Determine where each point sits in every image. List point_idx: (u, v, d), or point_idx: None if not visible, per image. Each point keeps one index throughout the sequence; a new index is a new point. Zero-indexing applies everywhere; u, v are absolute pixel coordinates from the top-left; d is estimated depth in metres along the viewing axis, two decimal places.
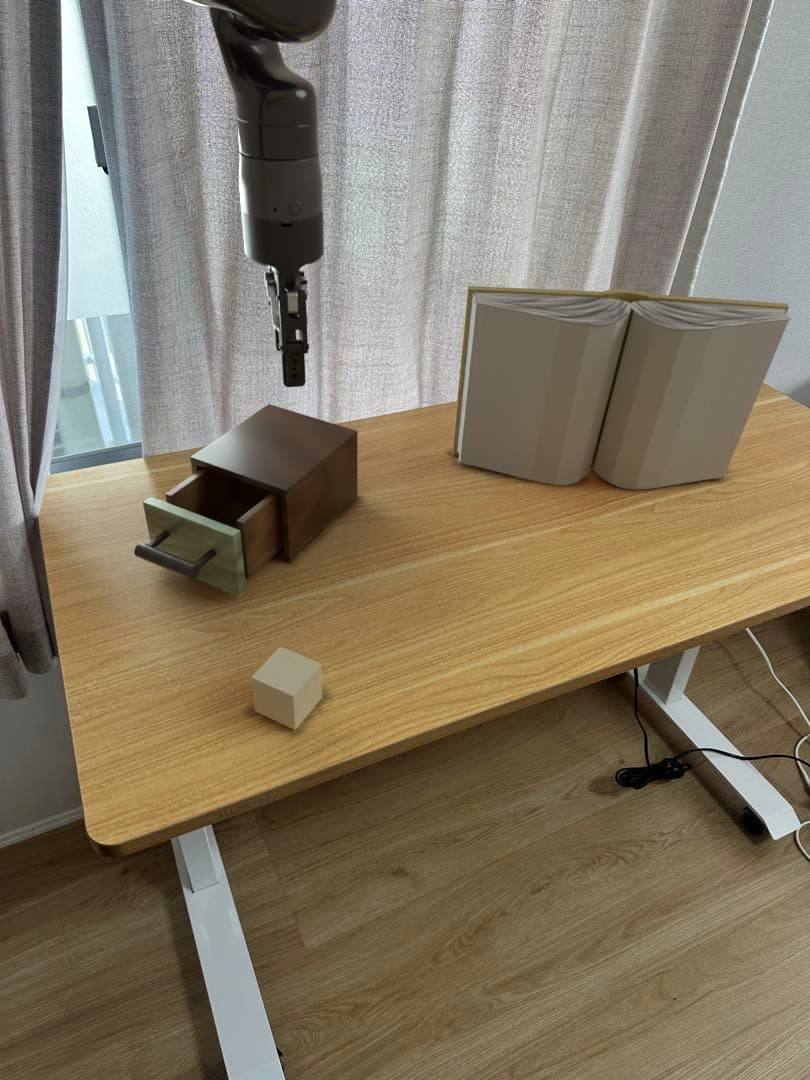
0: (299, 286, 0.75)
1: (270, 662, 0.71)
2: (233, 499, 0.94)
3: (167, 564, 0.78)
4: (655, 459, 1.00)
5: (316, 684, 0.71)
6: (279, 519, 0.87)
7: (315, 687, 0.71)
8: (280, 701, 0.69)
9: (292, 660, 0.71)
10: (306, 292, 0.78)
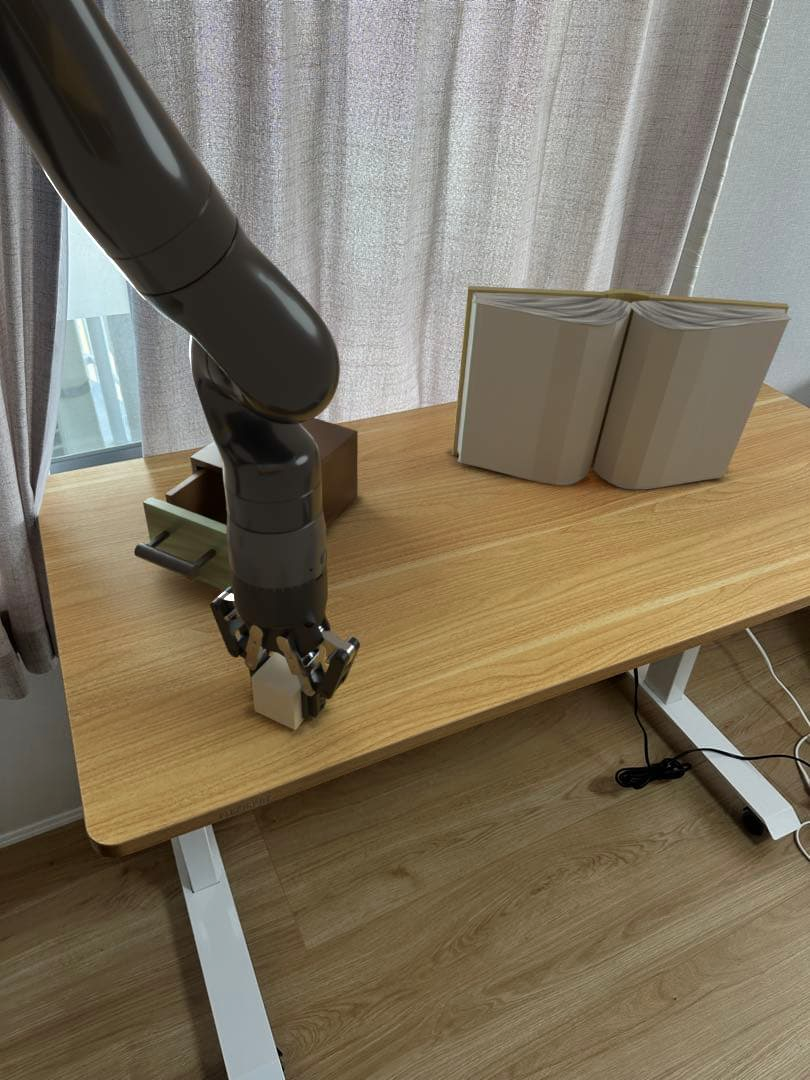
0: (329, 623, 0.65)
1: (270, 662, 0.71)
2: None
3: (167, 564, 0.78)
4: (655, 459, 1.00)
5: None
6: None
7: None
8: (280, 700, 0.69)
9: None
10: None
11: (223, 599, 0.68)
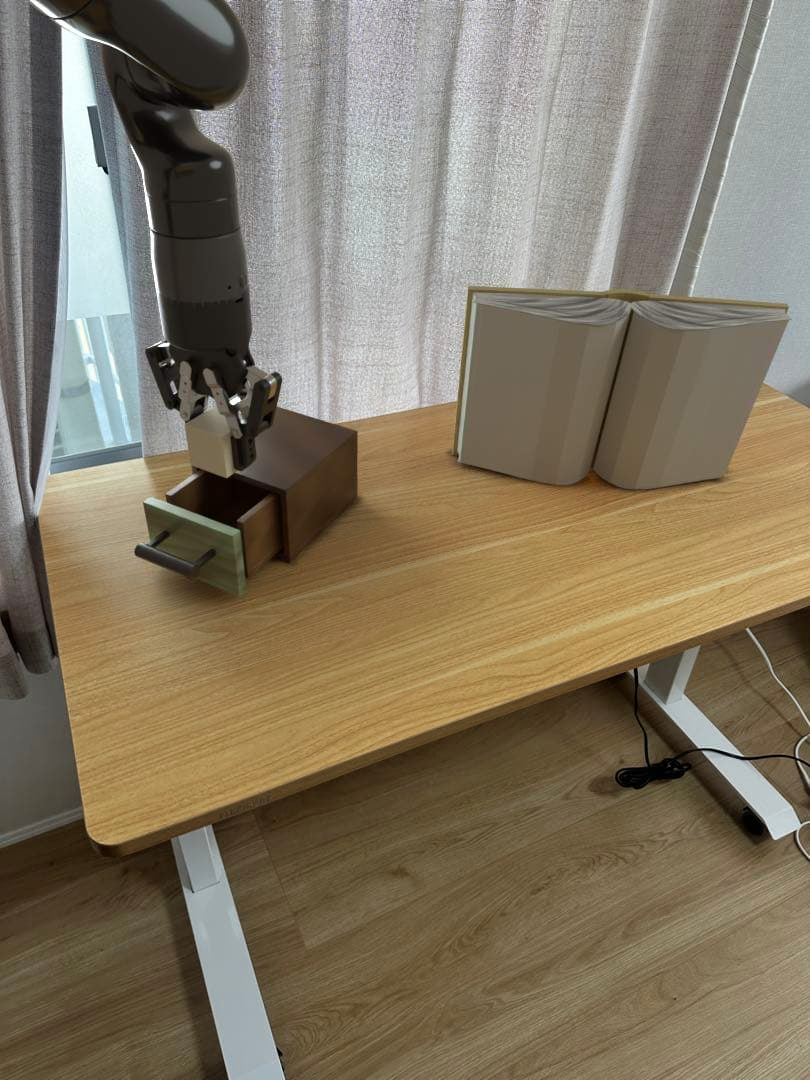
0: (253, 359, 0.69)
1: (204, 415, 0.75)
2: (233, 499, 0.94)
3: (167, 564, 0.78)
4: (655, 459, 1.00)
5: None
6: (279, 519, 0.87)
7: None
8: (211, 445, 0.73)
9: None
10: None
11: (158, 346, 0.73)
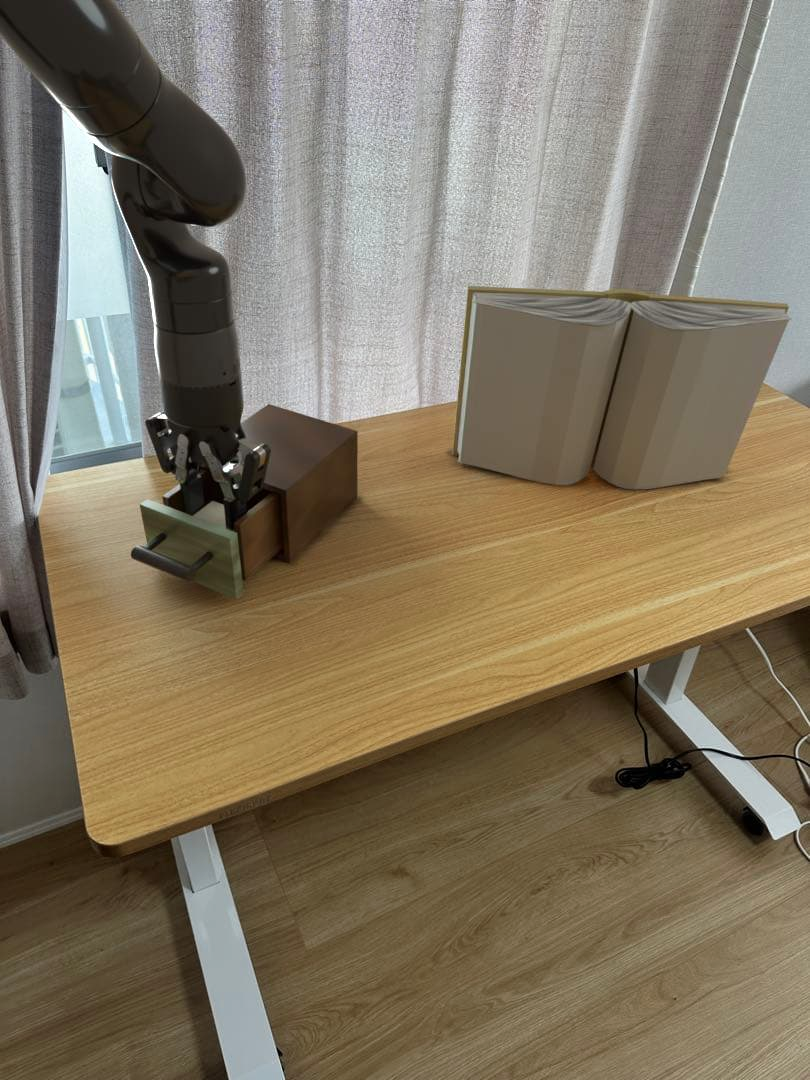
0: (244, 433, 0.77)
1: (203, 511, 0.85)
2: None
3: (164, 567, 0.78)
4: (655, 459, 1.00)
5: None
6: (276, 521, 0.86)
7: None
8: None
9: (221, 510, 0.86)
10: None
11: (157, 418, 0.80)
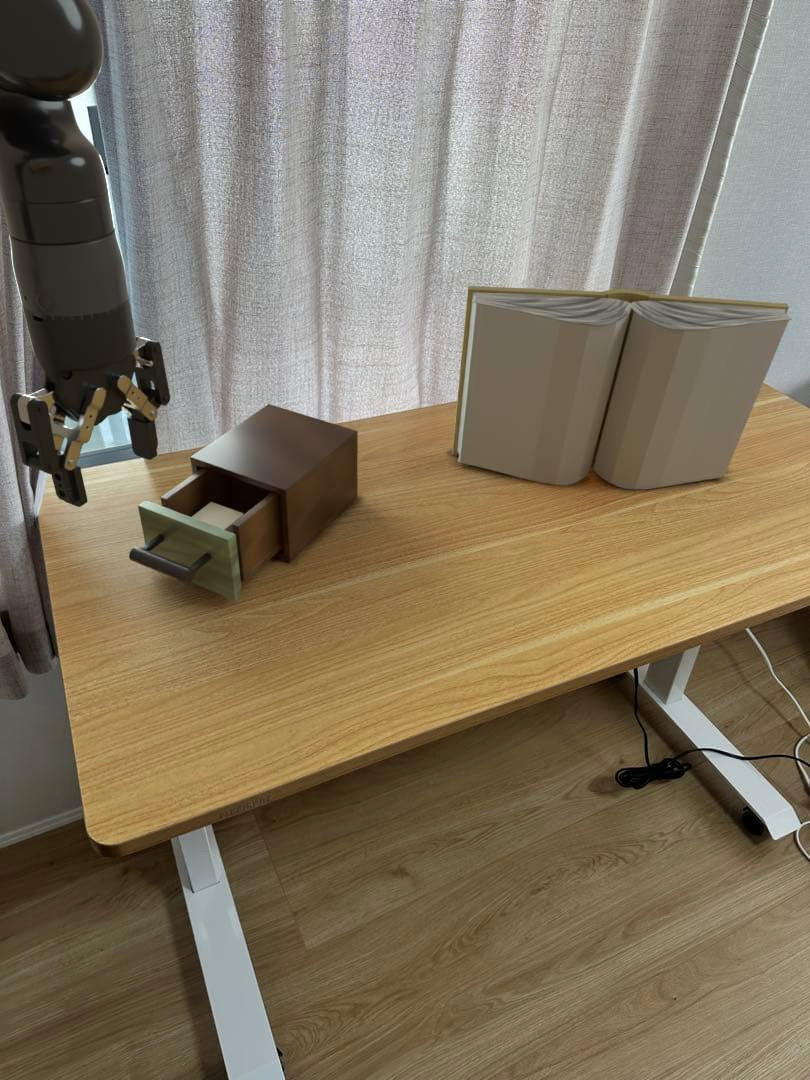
0: (62, 393, 0.60)
1: (201, 512, 0.85)
2: (229, 502, 0.93)
3: (162, 568, 0.78)
4: (655, 459, 1.00)
5: None
6: (275, 522, 0.86)
7: None
8: None
9: (220, 511, 0.85)
10: (89, 402, 0.62)
11: (136, 342, 0.67)
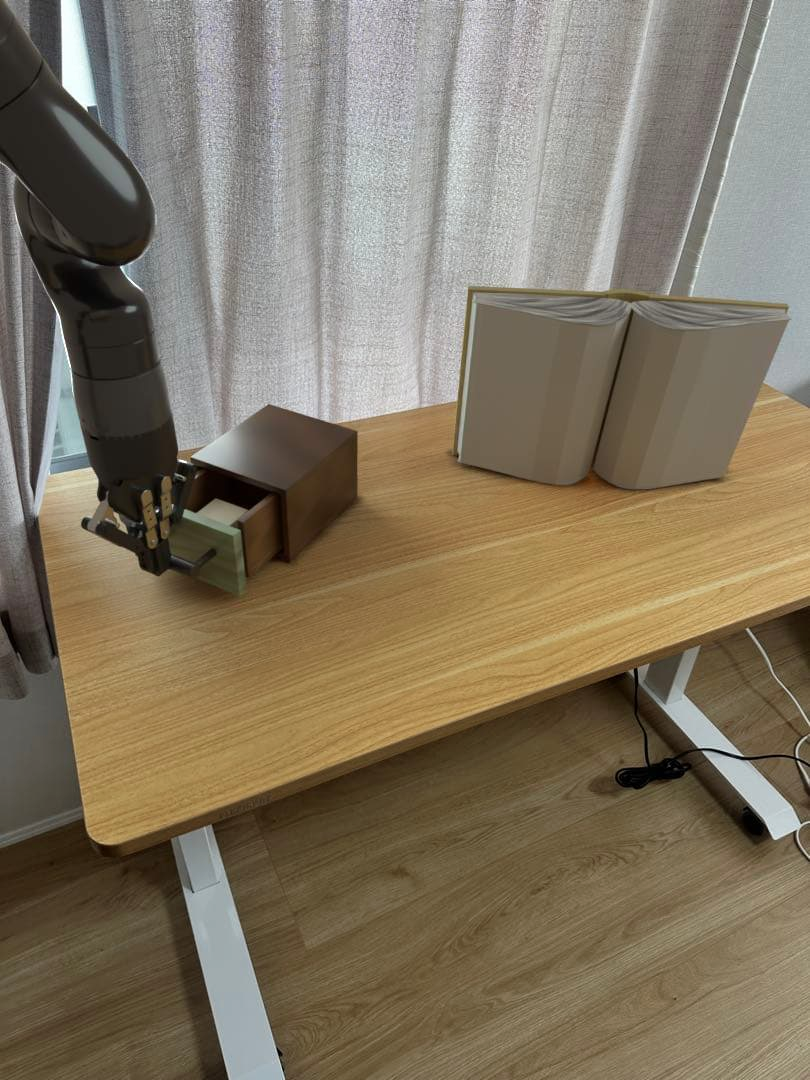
0: (114, 498, 0.68)
1: (206, 508, 0.86)
2: (233, 499, 0.94)
3: None
4: (655, 459, 1.00)
5: None
6: (279, 519, 0.87)
7: None
8: None
9: (225, 507, 0.86)
10: (141, 506, 0.71)
11: (178, 460, 0.77)
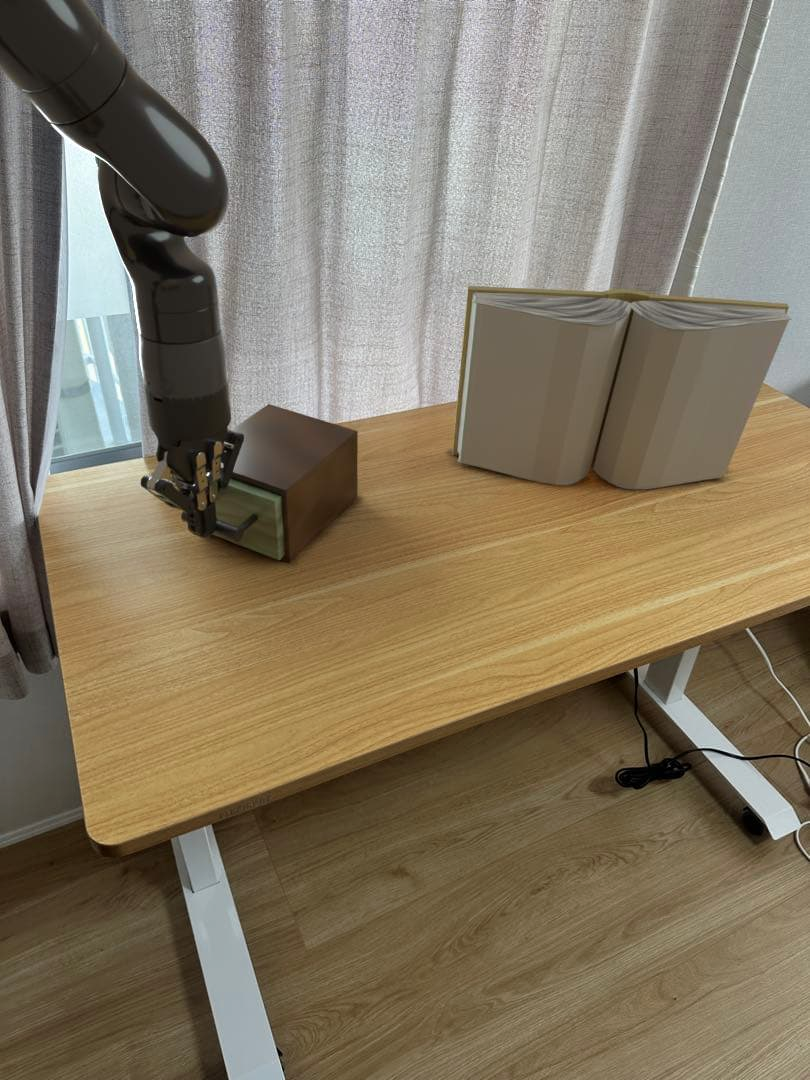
0: (172, 458, 0.73)
1: None
2: None
3: None
4: (655, 459, 1.00)
5: None
6: None
7: None
8: None
9: None
10: (196, 468, 0.76)
11: (226, 430, 0.82)
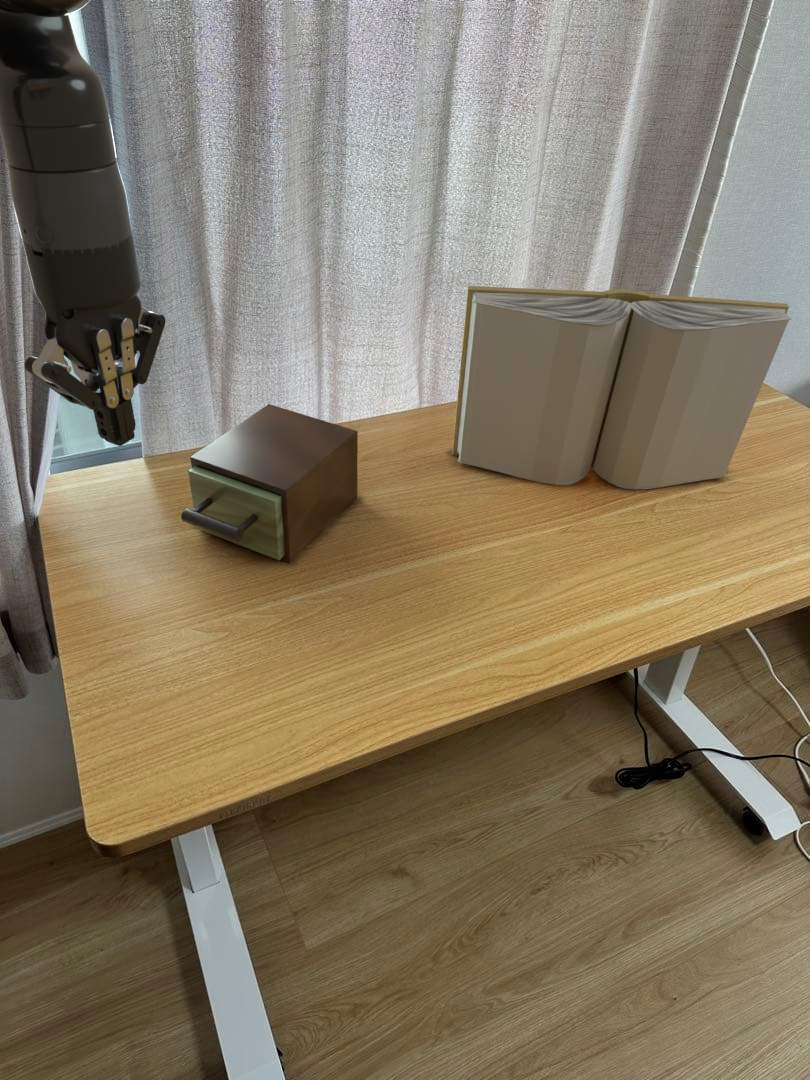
0: (63, 333, 0.58)
1: None
2: None
3: (213, 528, 0.83)
4: (655, 459, 1.00)
5: None
6: None
7: None
8: None
9: None
10: (97, 349, 0.60)
11: None
